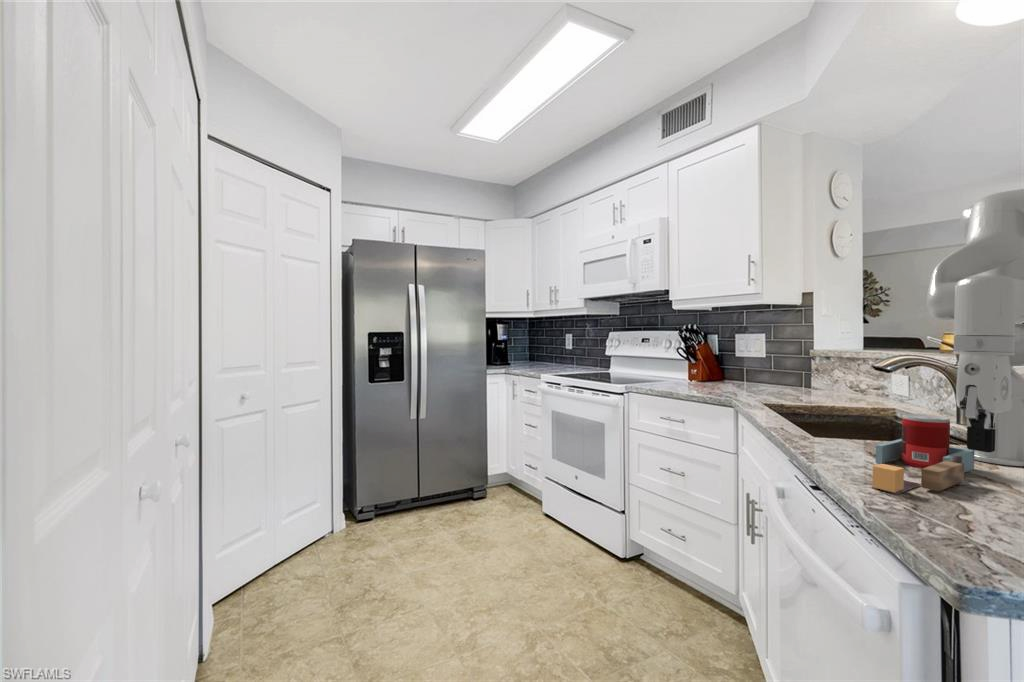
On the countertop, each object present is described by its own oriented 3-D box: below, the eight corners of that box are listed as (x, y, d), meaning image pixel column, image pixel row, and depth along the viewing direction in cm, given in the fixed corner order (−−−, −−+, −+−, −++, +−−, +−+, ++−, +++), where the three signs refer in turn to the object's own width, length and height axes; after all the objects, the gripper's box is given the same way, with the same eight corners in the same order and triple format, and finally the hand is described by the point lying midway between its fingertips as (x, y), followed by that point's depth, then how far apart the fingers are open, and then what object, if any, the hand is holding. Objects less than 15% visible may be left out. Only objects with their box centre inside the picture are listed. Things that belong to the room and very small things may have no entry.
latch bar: (948, 476, 93) (949, 454, 93) (965, 480, 91) (965, 457, 91) (921, 487, 87) (921, 463, 87) (938, 491, 85) (938, 466, 85)
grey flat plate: (895, 479, 93) (895, 478, 93) (920, 485, 90) (920, 484, 90) (872, 487, 88) (872, 486, 88) (897, 494, 85) (897, 492, 85)
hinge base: (946, 477, 94) (946, 476, 94) (972, 483, 91) (972, 481, 91) (938, 480, 92) (938, 479, 92) (964, 486, 89) (964, 485, 89)
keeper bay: (901, 454, 112) (901, 438, 112) (974, 468, 101) (974, 450, 101) (875, 462, 106) (876, 445, 105) (950, 478, 94) (950, 458, 94)
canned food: (958, 471, 99) (959, 420, 99) (915, 469, 100) (916, 418, 100) (933, 461, 106) (934, 414, 106) (893, 459, 108) (894, 412, 108)
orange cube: (881, 483, 90) (881, 463, 90) (903, 489, 87) (903, 468, 86) (872, 486, 88) (872, 466, 88) (894, 492, 85) (895, 470, 85)
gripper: (998, 346, 74) (995, 460, 74) (1027, 347, 82) (1025, 450, 82) (937, 345, 81) (935, 450, 81) (970, 346, 88) (968, 442, 88)
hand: (980, 450), depth 81 cm, fingers closed
